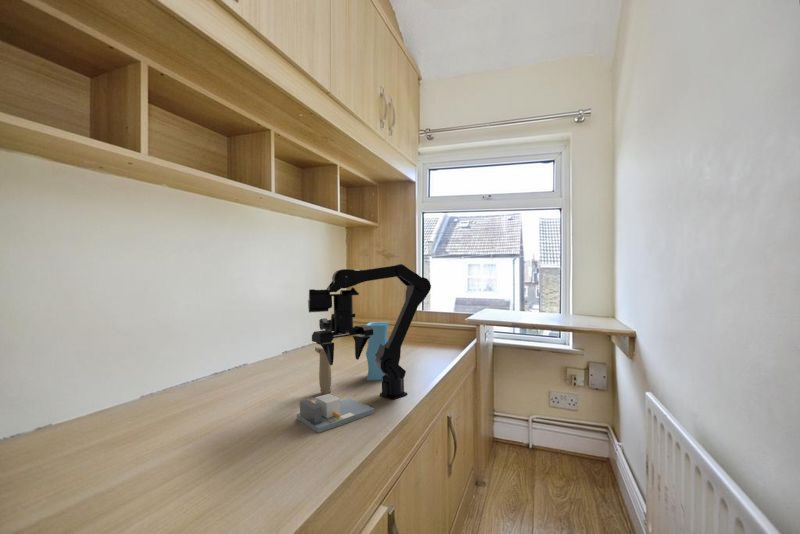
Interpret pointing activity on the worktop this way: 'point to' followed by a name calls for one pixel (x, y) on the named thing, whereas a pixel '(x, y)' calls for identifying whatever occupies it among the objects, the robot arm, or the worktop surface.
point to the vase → (376, 348)
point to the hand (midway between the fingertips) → (344, 362)
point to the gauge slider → (329, 405)
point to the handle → (324, 371)
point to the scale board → (341, 415)
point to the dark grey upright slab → (311, 412)
